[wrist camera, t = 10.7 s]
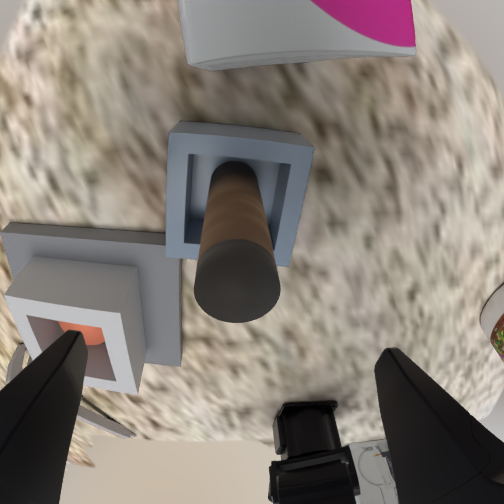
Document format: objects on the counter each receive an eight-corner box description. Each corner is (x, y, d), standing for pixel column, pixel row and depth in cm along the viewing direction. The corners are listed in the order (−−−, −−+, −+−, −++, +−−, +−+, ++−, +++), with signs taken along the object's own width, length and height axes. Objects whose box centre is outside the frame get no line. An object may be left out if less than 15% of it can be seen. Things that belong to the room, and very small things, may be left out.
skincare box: (442, 426, 45) (468, 495, 31) (426, 440, 48) (449, 506, 34) (346, 442, 42) (366, 532, 28) (332, 455, 44) (349, 538, 31)
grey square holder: (182, 234, 21) (168, 293, 16) (182, 353, 27) (176, 410, 22) (10, 222, 19) (-33, 266, 14) (44, 333, 26) (22, 381, 21)
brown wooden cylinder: (260, 163, 18) (288, 259, 10) (254, 206, 20) (272, 324, 11) (212, 158, 18) (195, 252, 10) (208, 202, 19) (193, 319, 11)
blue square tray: (300, 133, 18) (314, 147, 15) (280, 236, 22) (288, 266, 19) (180, 120, 17) (169, 132, 14) (174, 227, 21) (165, 257, 18)
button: (109, 292, 21) (102, 309, 20) (117, 331, 23) (111, 348, 22) (61, 286, 21) (51, 301, 19) (72, 324, 23) (65, 340, 21)
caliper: (19, 341, 27) (-3, 386, 22) (24, 339, 27) (2, 385, 21) (131, 433, 37) (126, 472, 32) (137, 433, 37) (132, 472, 32)
